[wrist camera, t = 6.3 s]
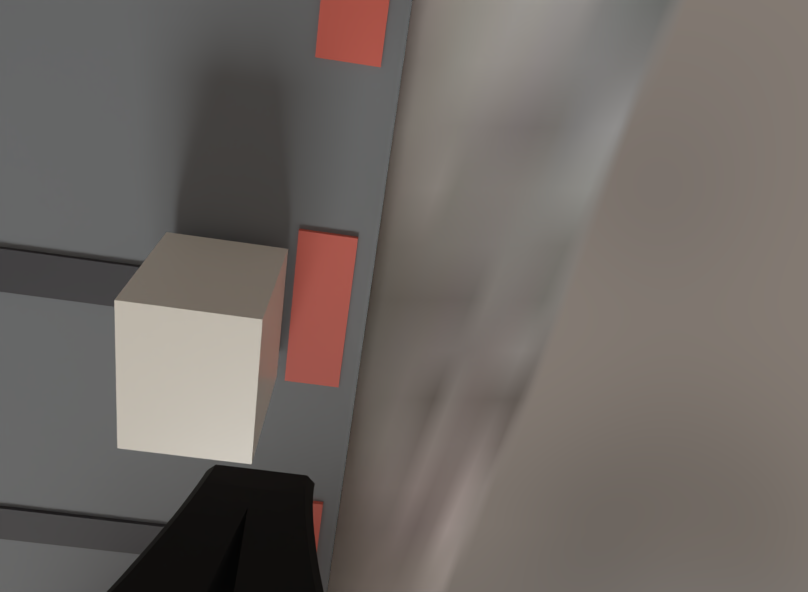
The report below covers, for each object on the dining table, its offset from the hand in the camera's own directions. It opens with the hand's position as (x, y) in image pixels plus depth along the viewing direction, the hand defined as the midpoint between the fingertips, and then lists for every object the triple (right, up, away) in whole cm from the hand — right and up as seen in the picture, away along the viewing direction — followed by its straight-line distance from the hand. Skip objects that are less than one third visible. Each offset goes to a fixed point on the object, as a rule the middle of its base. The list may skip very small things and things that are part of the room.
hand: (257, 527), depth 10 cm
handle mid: (-2, +3, +6) cm, 6 cm away
